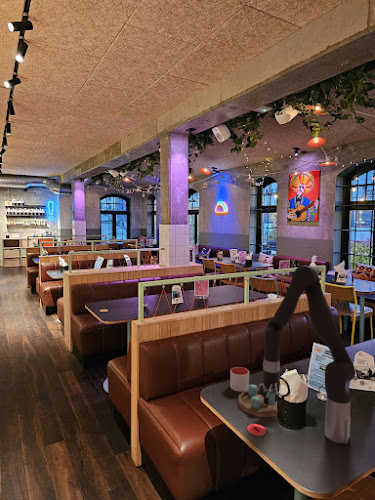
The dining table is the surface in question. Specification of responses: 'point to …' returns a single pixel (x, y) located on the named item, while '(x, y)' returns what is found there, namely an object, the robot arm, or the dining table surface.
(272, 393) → the bead
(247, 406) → the tray
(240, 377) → the cup
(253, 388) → the bead
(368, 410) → the dining table surface
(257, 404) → the bead
